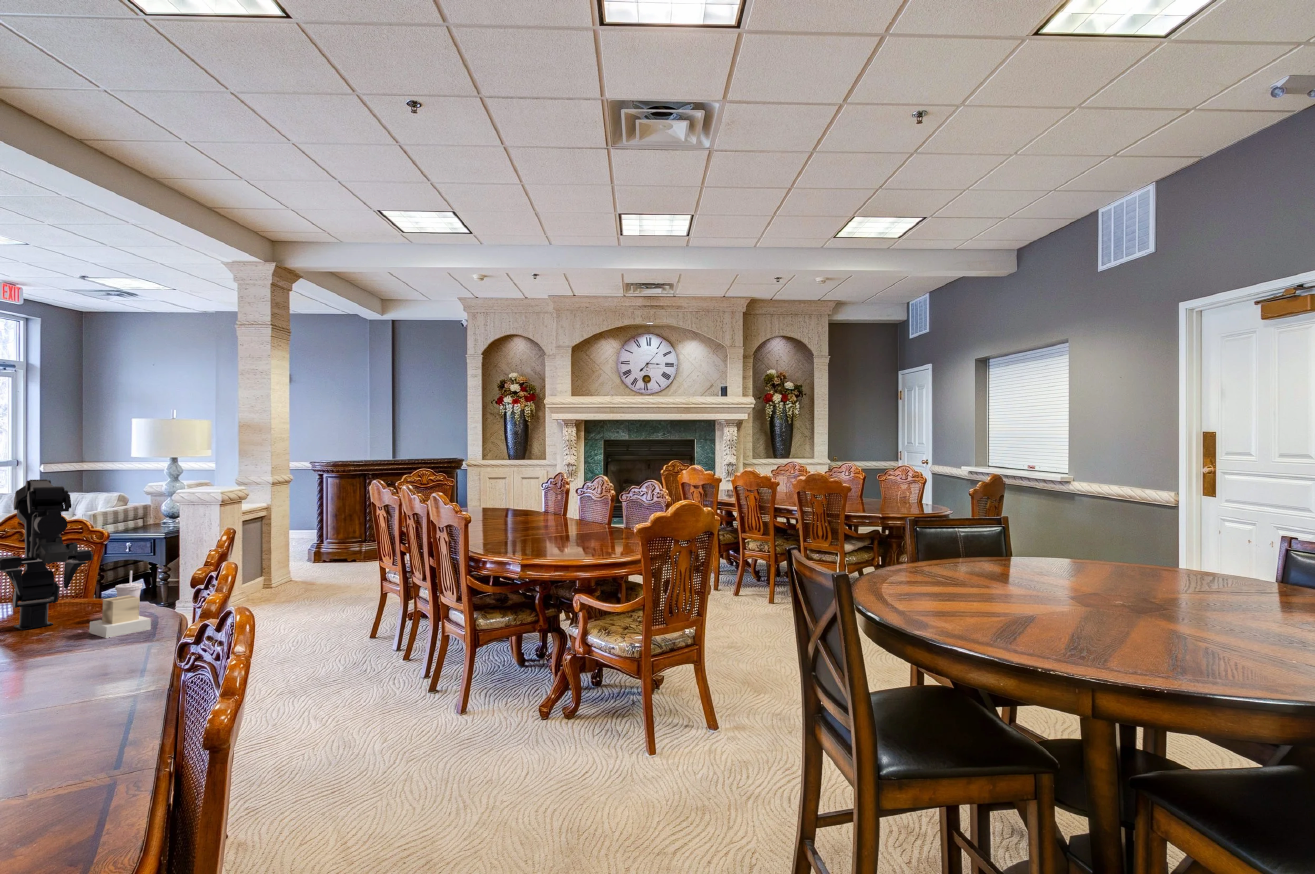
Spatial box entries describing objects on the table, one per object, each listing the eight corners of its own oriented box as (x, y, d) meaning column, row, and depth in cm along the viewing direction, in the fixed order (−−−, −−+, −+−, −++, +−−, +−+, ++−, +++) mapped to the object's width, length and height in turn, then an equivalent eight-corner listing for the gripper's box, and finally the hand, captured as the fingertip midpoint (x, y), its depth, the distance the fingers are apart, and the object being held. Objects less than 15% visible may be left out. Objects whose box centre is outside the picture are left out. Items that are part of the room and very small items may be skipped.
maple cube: (102, 621, 174) (103, 599, 174) (128, 616, 179) (129, 595, 179) (112, 624, 171) (113, 601, 171) (138, 619, 176) (139, 597, 176)
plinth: (89, 632, 173) (89, 621, 173) (133, 624, 182) (133, 614, 182) (106, 638, 168) (106, 626, 168) (150, 629, 177) (151, 618, 177)
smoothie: (125, 620, 186) (127, 572, 186) (107, 619, 187) (109, 571, 187) (146, 615, 192) (148, 569, 192) (129, 614, 193) (131, 568, 194)
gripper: (9, 538, 157) (6, 601, 157) (103, 531, 174) (100, 588, 173) (-7, 535, 163) (-10, 596, 162) (85, 529, 179) (82, 584, 179)
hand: (43, 591), depth 169 cm, fingers open, 9 cm apart
